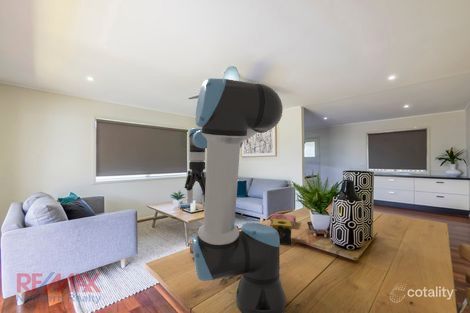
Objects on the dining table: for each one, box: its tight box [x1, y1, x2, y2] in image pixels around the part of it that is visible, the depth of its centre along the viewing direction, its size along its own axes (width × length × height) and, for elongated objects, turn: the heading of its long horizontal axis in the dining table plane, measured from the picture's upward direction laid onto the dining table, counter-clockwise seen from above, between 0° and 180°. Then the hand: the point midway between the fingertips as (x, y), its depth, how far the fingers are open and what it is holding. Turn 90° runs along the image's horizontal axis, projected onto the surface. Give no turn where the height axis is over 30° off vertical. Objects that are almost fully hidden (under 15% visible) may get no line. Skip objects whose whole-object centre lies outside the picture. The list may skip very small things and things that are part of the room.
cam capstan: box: [189, 240, 193, 254], centre depth 96 cm, size 15×6×5 cm, turn 134°
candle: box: [271, 219, 292, 246], centre depth 111 cm, size 10×10×10 cm
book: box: [269, 213, 297, 230], centre depth 138 cm, size 14×15×5 cm
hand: (197, 205), depth 98 cm, fingers open, 13 cm apart
